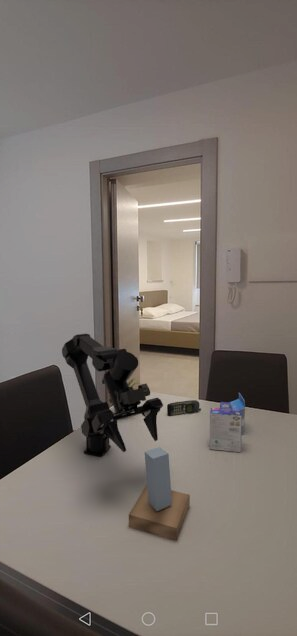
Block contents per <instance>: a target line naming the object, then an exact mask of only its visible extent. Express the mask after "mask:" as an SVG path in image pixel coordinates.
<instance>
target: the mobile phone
mask: <svg viewBox="0 0 297 636" xmlns="http://www.w3.org/2000/svg"><path fill="white" fill-rule="evenodd" d="M166 410H167V411H166V413H167V416H169V417H173V416H180V415H188V414H189V415H190V414H194V413H196V412H199V411H201V410H202V408H201V407H200V402H199V401H198V400H194V399H192V400H191V399H190V400H183V401H175V402H171V403H168V404H167V406H166Z"/></svg>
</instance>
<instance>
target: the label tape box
mask: <svg viewBox="0 0 297 636" xmlns="http://www.w3.org/2000/svg"><path fill="white" fill-rule="evenodd" d="M245 402H246V401H245V399H244V397H243V396H242V394H241V393H240V392H238V398H237V399H235V400H233V401H229V402H228V403H231V406H232V409H240V410H241V414H242V430H241V436H242V435H244V429H245V414H246V404H245ZM228 407H230V406H229V405H228Z"/></svg>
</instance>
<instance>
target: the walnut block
mask: <svg viewBox="0 0 297 636" xmlns="http://www.w3.org/2000/svg"><path fill="white" fill-rule="evenodd" d="M171 496H172V505H170V506H168V507H166V508H163V509H161V510H159V511H156V510H155V509H154V508H153V507H152V505H151V504H150V503H149V502H148V492H147V484H146V485H145V486H144V488H143V490H142V491H141V493H140V495H139V496H138V499H137V500H136V501H135V503H134V505H133V506H132V508H131V509H130V511H129V513H128V527H129V528H131V529H135V530H138V531H141V532H145V533H147V534H150V535H151V534H152V535H154V536H158V537H160V538H161V537H162V538H165V539H167V540H171V541H174V542H177V541H178V539H179V536H180V534H181V532H182V531H181V530H182V528H183V525H184V522H185V520H186V516H187V515H188V512H189V508H190V506H191V504H190V503H191V502H190V501H191V500H190V497H191V495H190V494H189V493H184V492H180V491H177V490H173V489H171Z"/></svg>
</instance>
